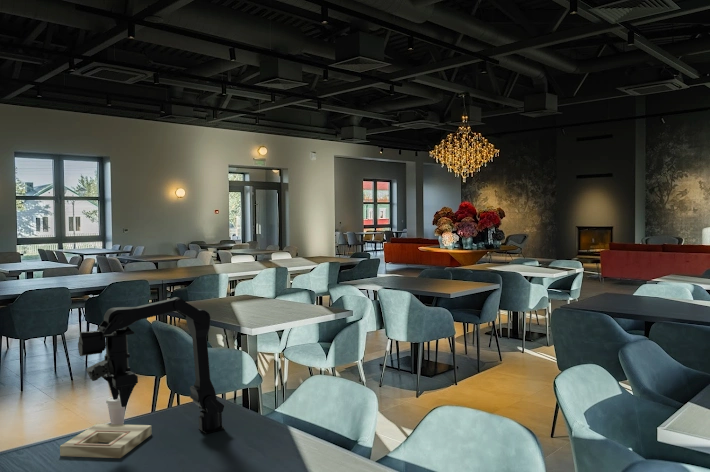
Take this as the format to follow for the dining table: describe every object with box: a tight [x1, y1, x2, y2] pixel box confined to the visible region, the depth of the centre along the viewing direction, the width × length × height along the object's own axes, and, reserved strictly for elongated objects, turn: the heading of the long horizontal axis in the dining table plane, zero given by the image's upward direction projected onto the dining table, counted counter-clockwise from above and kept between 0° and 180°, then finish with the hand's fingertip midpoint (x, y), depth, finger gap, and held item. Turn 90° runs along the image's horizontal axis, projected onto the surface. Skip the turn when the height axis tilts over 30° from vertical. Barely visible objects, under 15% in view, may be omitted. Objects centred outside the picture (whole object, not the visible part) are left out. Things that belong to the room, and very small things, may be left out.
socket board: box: [59, 423, 153, 459], centre depth 181 cm, size 19×19×3 cm
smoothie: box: [105, 395, 126, 425], centre depth 197 cm, size 6×6×14 cm
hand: (119, 402), depth 175 cm, fingers open, 9 cm apart
